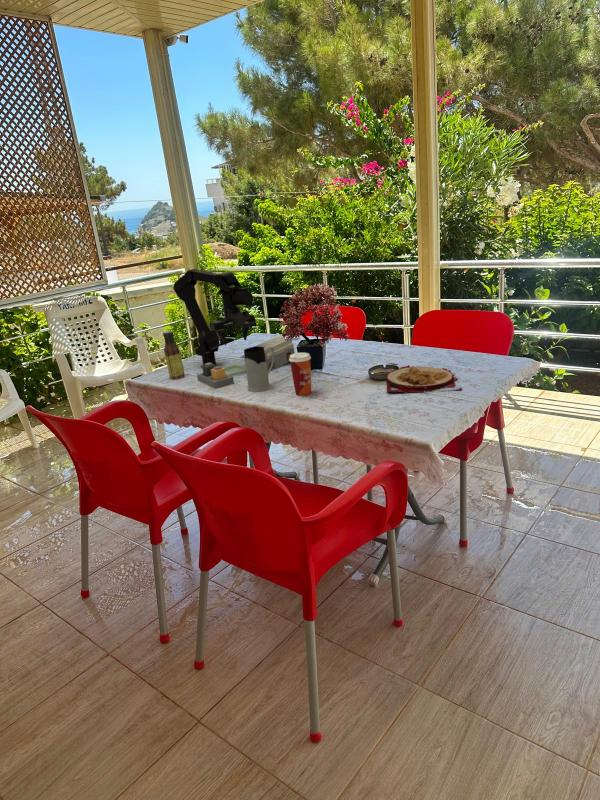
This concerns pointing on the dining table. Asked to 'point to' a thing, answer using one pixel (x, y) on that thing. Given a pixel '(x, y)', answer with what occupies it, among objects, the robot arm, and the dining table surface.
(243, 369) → the tray
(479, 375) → the dining table surface
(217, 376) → the plug
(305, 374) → the paper cup
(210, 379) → the power strip
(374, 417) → the dining table surface
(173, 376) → the sauce bottle
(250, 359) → the grey pitcher
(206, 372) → the twin plug
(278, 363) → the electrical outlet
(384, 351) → the dining table surface
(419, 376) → the plate with food
